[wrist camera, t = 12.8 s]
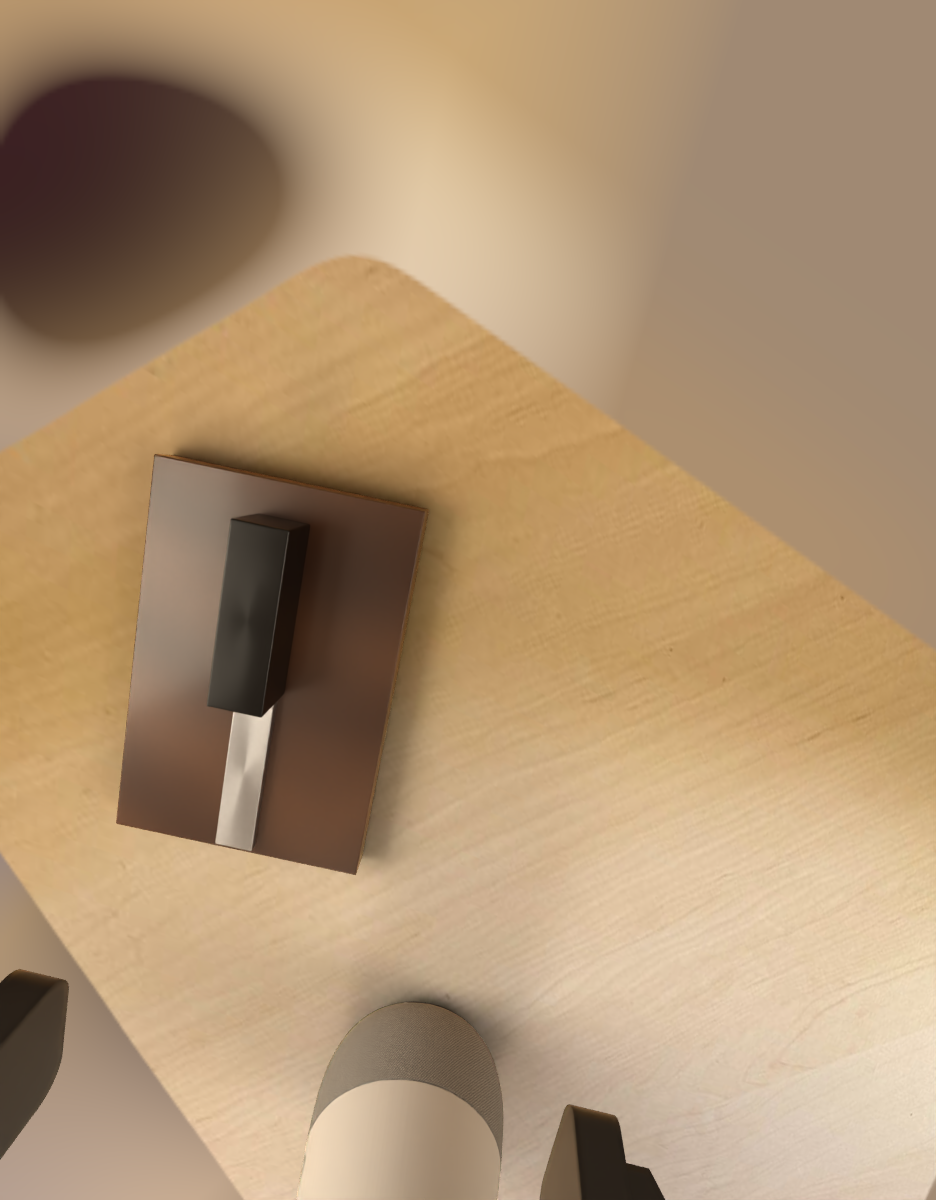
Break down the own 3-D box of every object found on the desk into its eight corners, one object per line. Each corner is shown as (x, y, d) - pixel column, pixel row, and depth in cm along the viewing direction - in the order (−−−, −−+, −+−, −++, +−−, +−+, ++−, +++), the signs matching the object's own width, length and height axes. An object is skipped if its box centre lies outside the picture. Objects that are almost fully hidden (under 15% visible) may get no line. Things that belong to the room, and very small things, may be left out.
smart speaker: (473, 1144, 36) (458, 1553, 23) (315, 1098, 36) (204, 1481, 23) (525, 1007, 34) (542, 1363, 21) (358, 958, 34) (264, 1284, 21)
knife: (257, 512, 28) (229, 517, 25) (311, 523, 28) (289, 530, 25) (213, 836, 32) (183, 874, 29) (261, 847, 32) (236, 885, 29)
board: (171, 454, 30) (153, 453, 28) (429, 509, 29) (425, 511, 28) (132, 808, 33) (115, 823, 32) (362, 857, 33) (355, 875, 32)
